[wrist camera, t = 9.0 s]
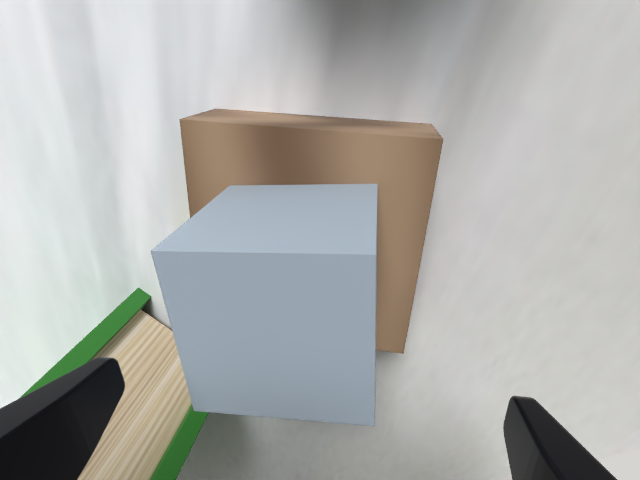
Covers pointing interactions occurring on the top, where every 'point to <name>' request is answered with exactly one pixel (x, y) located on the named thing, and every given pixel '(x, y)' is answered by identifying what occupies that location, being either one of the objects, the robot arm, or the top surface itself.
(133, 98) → the top surface
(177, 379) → the hardback book
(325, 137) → the walnut block
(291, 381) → the grey cube
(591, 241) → the top surface
